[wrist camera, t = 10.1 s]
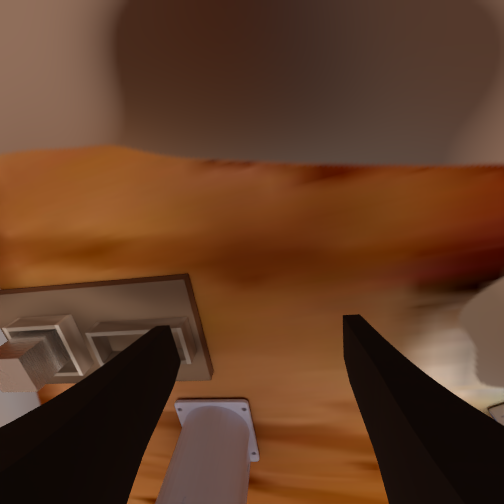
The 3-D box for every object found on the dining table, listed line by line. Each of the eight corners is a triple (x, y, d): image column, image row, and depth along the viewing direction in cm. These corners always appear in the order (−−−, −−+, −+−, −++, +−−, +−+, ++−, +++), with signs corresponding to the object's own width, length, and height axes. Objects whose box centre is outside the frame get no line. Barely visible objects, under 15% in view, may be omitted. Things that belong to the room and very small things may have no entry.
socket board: (213, 372, 26) (206, 394, 23) (41, 376, 29) (20, 396, 26) (188, 273, 22) (177, 288, 19) (-8, 290, 25) (-38, 305, 22)
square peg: (77, 351, 25) (38, 391, 21) (47, 353, 26) (2, 392, 22) (63, 322, 24) (17, 358, 20) (31, 324, 24) (-20, 360, 20)
